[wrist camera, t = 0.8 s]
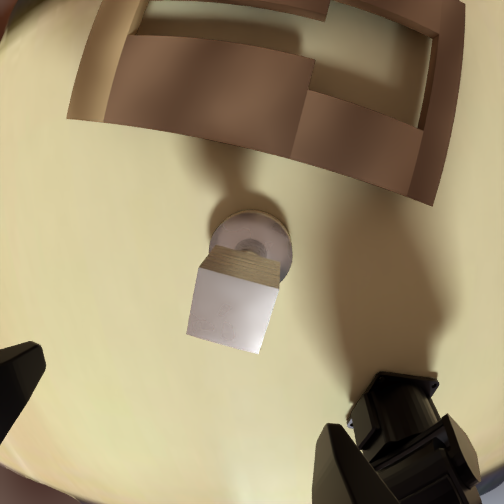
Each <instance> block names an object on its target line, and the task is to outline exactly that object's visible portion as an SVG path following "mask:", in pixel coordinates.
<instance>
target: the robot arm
mask: <svg viewBox="0 0 504 504" xmlns="http://www.w3.org/2000/svg"><path fill="white" fill-rule="evenodd" d="M45 369H46V362H45V358H44V354H43V350H42V347H41V345H39V344H37V343H35V342H33V341H28V342H25V343H21V344H18V345H14V346H11V347H7V348H4V349H0V445H1V443H2V441H3V440H4V438H5V436H6V435H7V433H8V432H9V430H10V429H11V427H12V425H13V424H14V422H15V421H16V419H17V418H18V416H19V415H20V413H21V412H22V410H23V409H24V407H25V406H26V404H27V402H28V401H29V399H30V397H31V395H32V393H33V391H34V390H35V388H36V386H37V384H38V382H39V380H40V379H41V377H42V375H43V373H44V372H45ZM381 377H383V378H381ZM380 378H381V379H380ZM433 384H434V385H433ZM438 386H439V382H438V380H437V379H433V378H425V377H417V376H410V375H402V374H396V373H389V372H379V373H377V374H376V375H375V377H374V379H373V380H372V382H371V384H370V385H369V387H368V389H367V390H366V392H365V393H364V394H363V395H362V397H361V398H360V400H359V402H358V403H357V405H356V406H355V408H354V409H353V411H352V413H351V416H350V417H349V419H348V420H347V427H348V428H353V429H354V433H355V439H356V444H357V446H356V444H355V443H354V442H353V440H352V439H351V438H350V436H349V435H348V433H347V432H346V431H345V429H344V428H343V427H342V425H340V424H333V423H327V424H326V425H325V426H324V428H323V430H322V432H321V434H320V436H319V438H318V440H317V443H316V450H315V462H314V473H313V483H312V504H482V501H481V498H480V496H479V494H478V491H477V489H476V486H475V485H477V484H478V483H480V482H481V477H480V470H479V464H478V459H477V454H476V451H475V449H474V448H473V446H472V444H471V442H470V440H469V438H468V436H467V435H466V433H465V432H464V431H463V430H462V429H461V428H460V426H459V425H458V424H457V423H456V422H455V421H454V420H453V419H452V418H451V416H450V415H449V414H448V413H447V414H446V415H445V416H443V417H442V418H440V416H439V414H438V411H437V409H436V407H435V405H434V403H433V401H432V399H431V397H432V395H433V394H434V392H435V391H436V389H437V388H438ZM360 450H362V451H363V454H362V452H361V451H360Z"/></svg>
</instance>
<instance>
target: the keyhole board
mask: <svg viewBox="0 0 504 504" xmlns="http://www.w3.org/2000/svg"><path fill="white" fill-rule="evenodd" d="M149 1H162V0H103V1H102V3H101V5H100V8H99V10H98V13H97V15H96V18H95V20H94V23H93V26H92V29H91V31H90V34H89V37H88V40H87V43H86V46H85V49H84V52H83V55H82V58H81V62H80V65H79V69H78V72H77V76H76V79H75V83H74V87H73V91H72V95H71V99H70V104H69V108H68V113H67V118H66V119H75V120H85V121H94V122H103V123H111V124H119V125H127V126H134V127H141V128H147V129H153V130H160V131H166V132H171V133H177V134H182V135H188V136H193V137H198V138H203V139H208V140H213V141H218V142H222V143H227V144H231V145H236V146H240V147H244V148H249V149H253V150H257V151H261V152H265V153H269V154H273V155H277V156H280V157H284V158H288V159H292V160H295V161H299V162H302V163H306V164H309V165H313V166H316V167H320V168H323V169H326V170H330V171H333V172H336V173H339V174H342V175H346V176H349V177H352V178H355V179H358V180H361V181H364V182H367V183H370V184H373V185H376V186H378V187H381V188H384V189H387V190H390V191H393V192H395V193H398V194H401V195H403V196H406V197H409V198H411V199H414V200H417V201H419V202H422V203H424V204H427V205H430V206H432V207H433V203H434V200H435V197H436V193H437V190H438V186H439V183H440V179H441V175H442V171H443V167H444V163H445V159H446V155H447V151H448V146H449V142H450V137H451V132H452V127H453V122H454V117H455V111H456V105H457V99H458V93H459V86H460V78H461V69H462V60H463V48H464V33H465V4H464V3H462V2H461V1H459V0H333V1H336V2H340V3H343V4H347V5H350V6H353V7H356V8H359V9H362V10H365V11H368V12H371V13H373V14H376V15H379V16H382V17H384V18H387V19H389V20H392V21H394V22H397V23H399V24H401V25H404V26H406V27H408V28H411V29H413V30H415V31H417V32H419V33H421V34H424V35H426V36H428V37H430V38H432V47H431V55H430V62H429V69H428V75H427V81H426V87H425V93H424V98H423V103H422V108H421V113H420V118H419V123H418V127H417V128H415V127H413V126H411V125H409V124H406V123H404V122H401V121H399V120H396V119H394V118H392V117H389V116H386V115H384V114H381V113H379V112H376V111H373V110H371V109H368V108H365V107H362V106H359V105H356V104H353V103H350V102H347V101H344V100H341V99H338V98H335V97H332V96H329V95H325V94H322V93H318V92H315V91H311V90H308V87H309V83H310V80H311V76H312V72H313V68H314V64H315V60H314V59H310V58H306V57H303V56H299V55H294V54H290V53H286V52H282V51H277V50H272V49H267V48H262V47H257V46H251V45H245V44H239V43H233V42H226V41H218V40H210V39H200V38H189V37H175V36H152V35H136V34H137V31H138V28H139V26H140V23H141V20H142V17H143V15H144V12H145V10H146V7H147V5H148V2H149ZM172 1H202V2H216V3H226V4H235V5H244V6H251V7H258V8H264V9H270V10H275V11H280V12H285V13H290V14H295V15H299V16H304V17H308V18H312V19H316V20H320V21H323V22H325V19H326V16H327V12H328V8H329V4H330V0H172Z"/></svg>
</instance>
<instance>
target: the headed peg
mask: <svg viewBox="0 0 504 504" xmlns="http://www.w3.org/2000/svg"><path fill="white" fill-rule="evenodd" d="M291 263H292V243H291V239H290V236H289V233H288V231H287V229H286V228H285V226H284V225H283V224H282V223H281V222H280V221H279V220H278V219H277V218H275V217H274V216H272V215H271V214H269V213H266V212H263V211H259V210H244V211H240V212H237V213H235V214H233V215H231V216H229V217H228V218H227V219H225V220H224V221H223V222H222V223H221V224H220V226H219V227H218V228H217V229H216V230H215V232H214V234H213V236H212V238H211V241H210V245H209V254H208V256H207V257H206V258H205V260H204V261H203V262H202V264H201V265H200V266H199V268H198V273H197V278H196V284H195V289H194V294H193V300H192V305H191V311H190V316H189V322H188V328H187V333H186V334H188V335H191V336H194V337H197V338H201V339H204V340H208V341H211V342H215V343H218V344H222V345H225V346H229V347H233V348H236V349H240V350H244V351H248V352H252V353H256V354H259V351H260V348H261V344H262V341H263V338H264V335H265V332H266V329H267V326H268V323H269V320H270V317H271V314H272V311H273V307H274V304H275V301H276V298H277V295H278V292H279V284H280V282H281V281H282V280H283V279H284V278H285V276H286V275H287V273H288V271H289V269H290V266H291Z"/></svg>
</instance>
